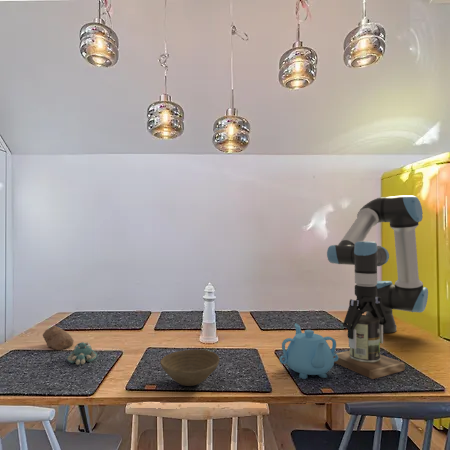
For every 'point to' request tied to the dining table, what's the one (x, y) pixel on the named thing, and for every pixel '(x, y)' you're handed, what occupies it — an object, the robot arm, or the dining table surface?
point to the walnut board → (370, 365)
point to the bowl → (190, 366)
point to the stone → (57, 338)
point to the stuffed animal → (82, 354)
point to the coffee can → (367, 340)
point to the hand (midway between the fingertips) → (366, 345)
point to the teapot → (309, 353)
